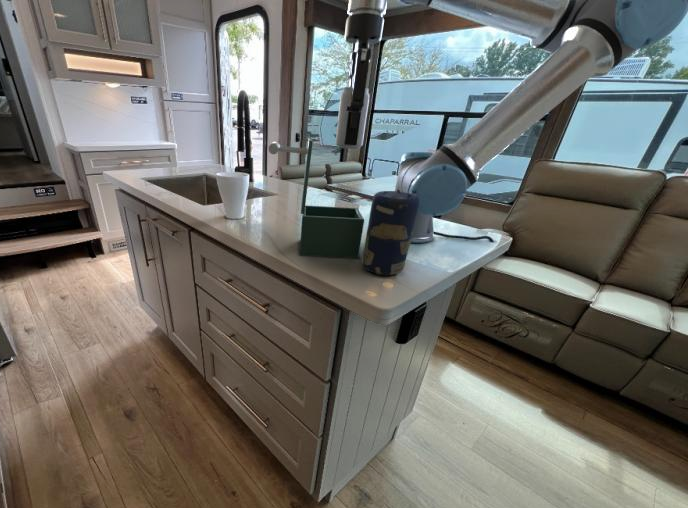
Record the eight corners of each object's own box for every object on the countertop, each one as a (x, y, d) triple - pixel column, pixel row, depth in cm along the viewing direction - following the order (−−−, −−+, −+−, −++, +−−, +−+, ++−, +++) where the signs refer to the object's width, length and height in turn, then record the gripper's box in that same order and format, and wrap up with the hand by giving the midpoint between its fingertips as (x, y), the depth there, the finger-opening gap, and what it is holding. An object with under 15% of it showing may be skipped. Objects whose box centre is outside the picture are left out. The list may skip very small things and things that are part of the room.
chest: (352, 243, 88) (357, 208, 84) (358, 258, 79) (364, 219, 74) (300, 240, 89) (302, 205, 84) (299, 255, 79) (302, 216, 74)
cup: (222, 211, 112) (220, 171, 105) (252, 213, 111) (251, 172, 105) (215, 220, 102) (212, 176, 96) (247, 221, 102) (246, 177, 96)
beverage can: (361, 149, 72) (370, 86, 66) (333, 147, 73) (340, 85, 67) (362, 148, 78) (371, 89, 72) (336, 146, 79) (342, 88, 73)
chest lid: (312, 138, 76) (272, 134, 76) (312, 141, 66) (268, 136, 66) (304, 203, 84) (268, 199, 84) (304, 214, 74) (264, 210, 74)
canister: (409, 269, 74) (430, 190, 65) (391, 282, 68) (411, 196, 59) (373, 258, 79) (387, 183, 70) (353, 268, 73) (365, 188, 64)
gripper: (343, 28, 72) (331, 140, 84) (351, 0, 55) (335, 145, 67) (376, 29, 72) (360, 142, 83) (394, 1, 55) (370, 147, 66)
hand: (349, 143), depth 75 cm, fingers closed on beverage can, 6 cm apart
